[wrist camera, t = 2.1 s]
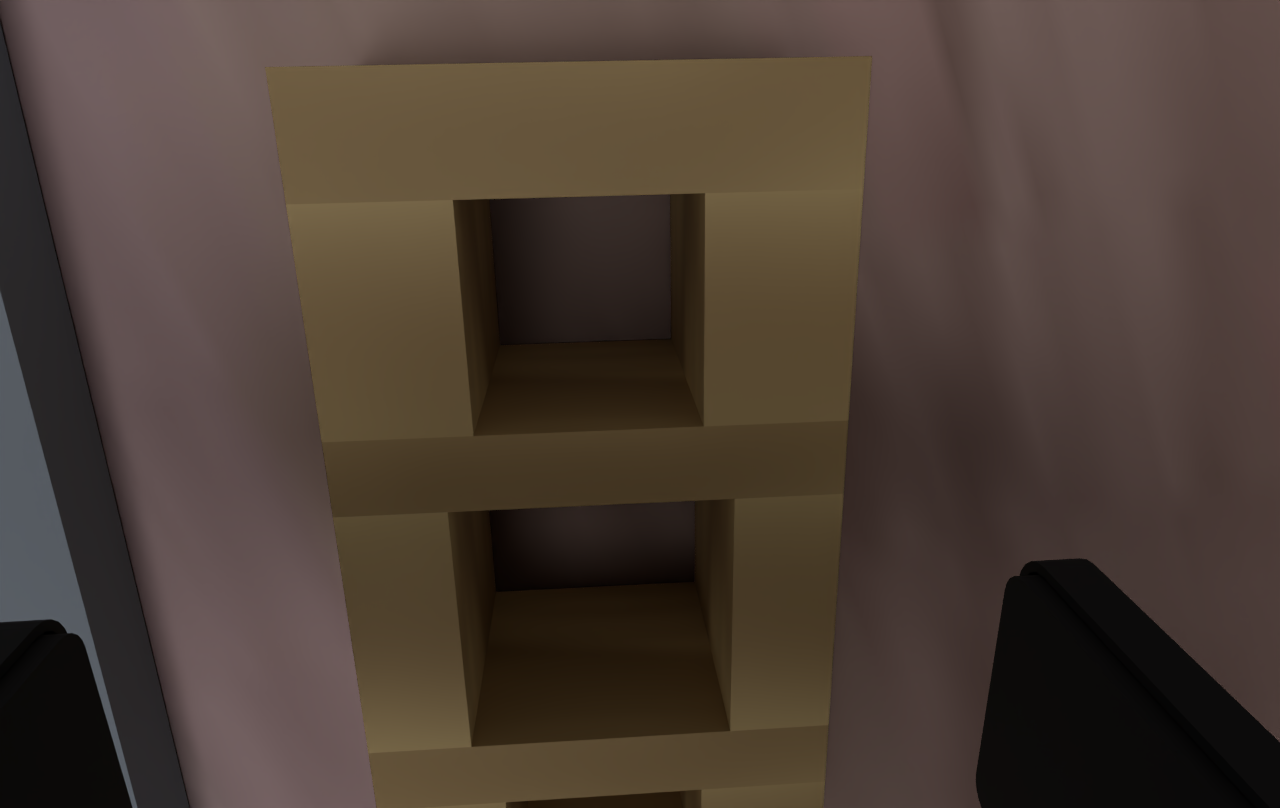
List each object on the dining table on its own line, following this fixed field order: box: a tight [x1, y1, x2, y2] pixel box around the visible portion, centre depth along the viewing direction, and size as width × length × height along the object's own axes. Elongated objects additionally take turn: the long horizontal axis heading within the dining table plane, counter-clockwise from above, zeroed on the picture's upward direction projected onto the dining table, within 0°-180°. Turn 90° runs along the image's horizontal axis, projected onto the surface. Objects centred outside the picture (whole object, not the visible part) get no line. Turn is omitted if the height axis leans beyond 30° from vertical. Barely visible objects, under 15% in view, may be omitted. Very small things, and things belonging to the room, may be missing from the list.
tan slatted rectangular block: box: [265, 56, 872, 808], centre depth 14 cm, size 14×6×4 cm, turn 1°
